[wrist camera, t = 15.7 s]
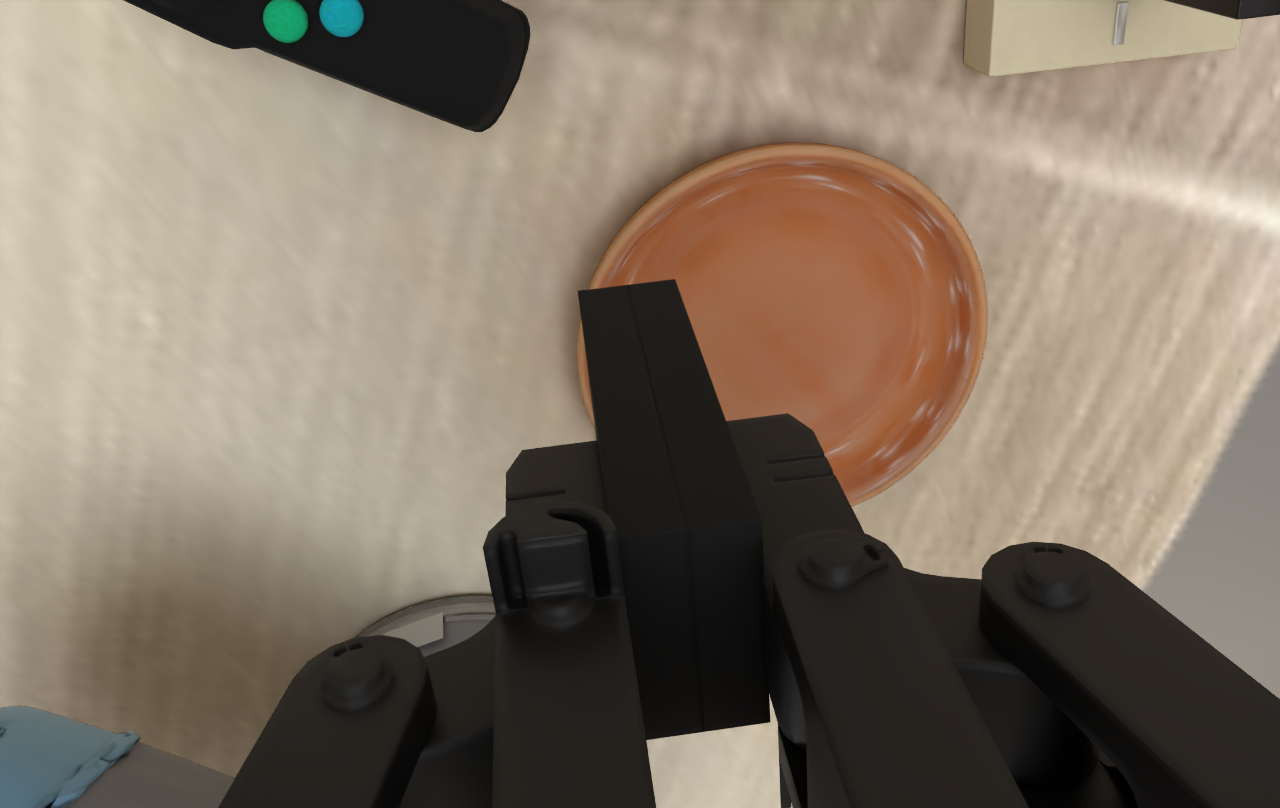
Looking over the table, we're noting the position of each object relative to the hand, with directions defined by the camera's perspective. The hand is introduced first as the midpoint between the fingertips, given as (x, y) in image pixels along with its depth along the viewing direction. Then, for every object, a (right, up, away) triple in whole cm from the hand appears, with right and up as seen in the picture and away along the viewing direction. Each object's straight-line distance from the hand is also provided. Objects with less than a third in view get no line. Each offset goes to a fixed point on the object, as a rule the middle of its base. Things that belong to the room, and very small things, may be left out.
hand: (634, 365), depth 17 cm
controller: (-10, +14, +19) cm, 26 cm away
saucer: (+5, +3, +27) cm, 28 cm away
